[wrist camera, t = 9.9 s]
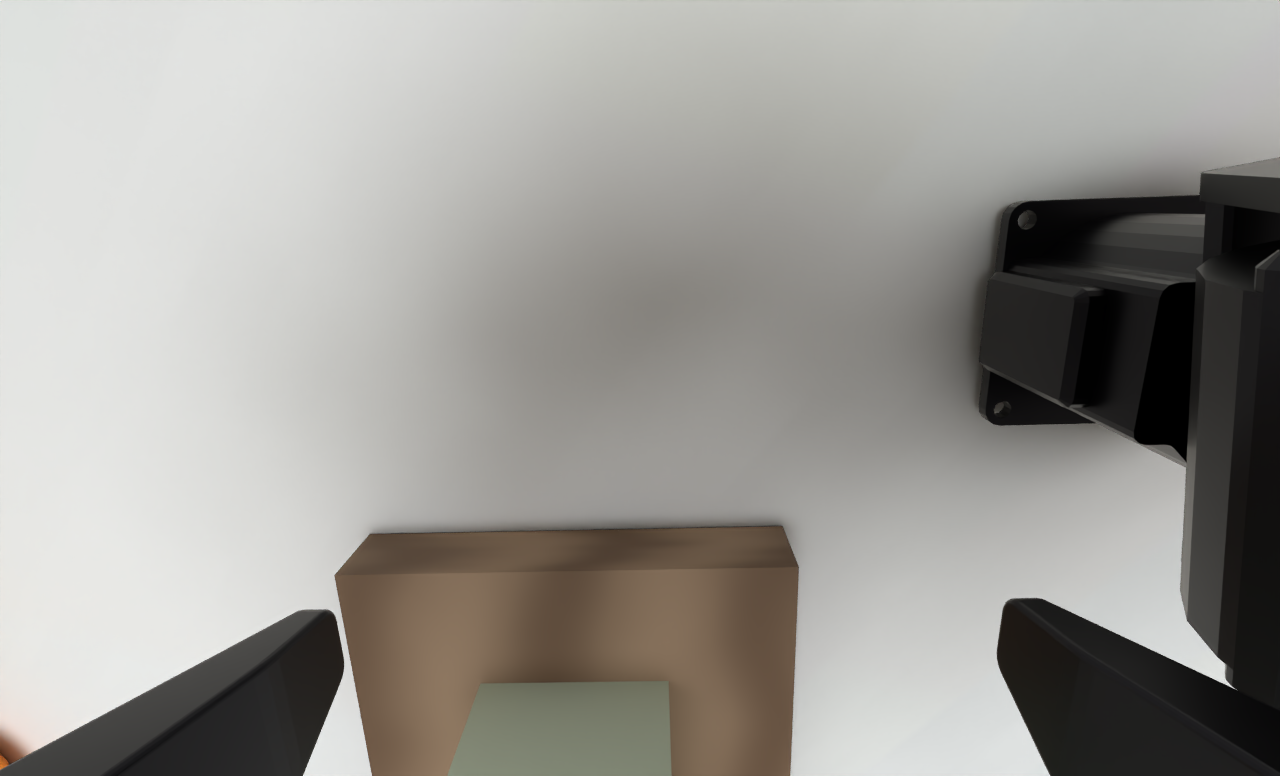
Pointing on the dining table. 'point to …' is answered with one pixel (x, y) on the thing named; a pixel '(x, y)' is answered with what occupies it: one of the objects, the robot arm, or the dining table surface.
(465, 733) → the sage block
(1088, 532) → the dining table surface
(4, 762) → the toy juicer set
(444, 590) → the walnut plinth
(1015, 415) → the robot arm
